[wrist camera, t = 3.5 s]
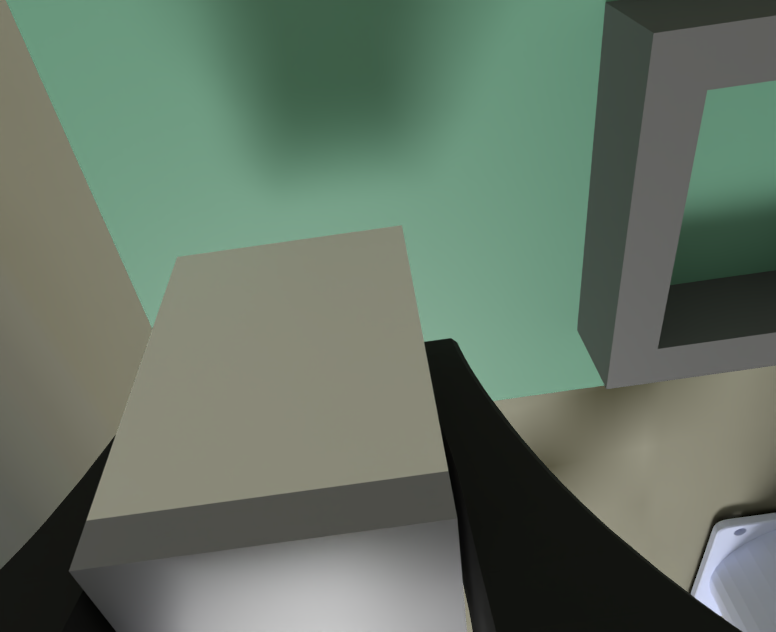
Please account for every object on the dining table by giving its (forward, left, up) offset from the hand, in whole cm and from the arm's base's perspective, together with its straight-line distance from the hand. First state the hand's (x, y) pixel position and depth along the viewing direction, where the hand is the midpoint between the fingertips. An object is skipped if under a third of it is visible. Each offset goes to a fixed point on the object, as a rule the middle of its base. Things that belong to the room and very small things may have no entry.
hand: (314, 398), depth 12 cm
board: (-6, 0, -7) cm, 9 cm away
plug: (0, 0, -1) cm, 1 cm away
